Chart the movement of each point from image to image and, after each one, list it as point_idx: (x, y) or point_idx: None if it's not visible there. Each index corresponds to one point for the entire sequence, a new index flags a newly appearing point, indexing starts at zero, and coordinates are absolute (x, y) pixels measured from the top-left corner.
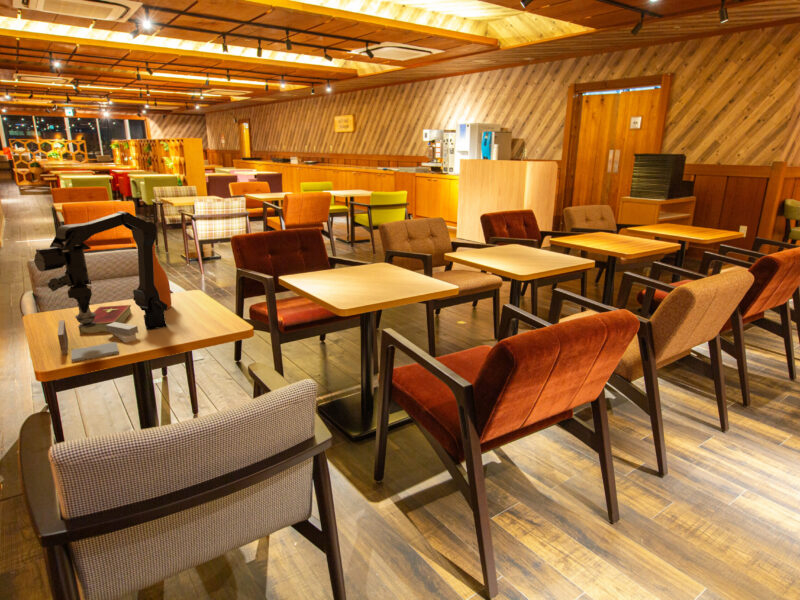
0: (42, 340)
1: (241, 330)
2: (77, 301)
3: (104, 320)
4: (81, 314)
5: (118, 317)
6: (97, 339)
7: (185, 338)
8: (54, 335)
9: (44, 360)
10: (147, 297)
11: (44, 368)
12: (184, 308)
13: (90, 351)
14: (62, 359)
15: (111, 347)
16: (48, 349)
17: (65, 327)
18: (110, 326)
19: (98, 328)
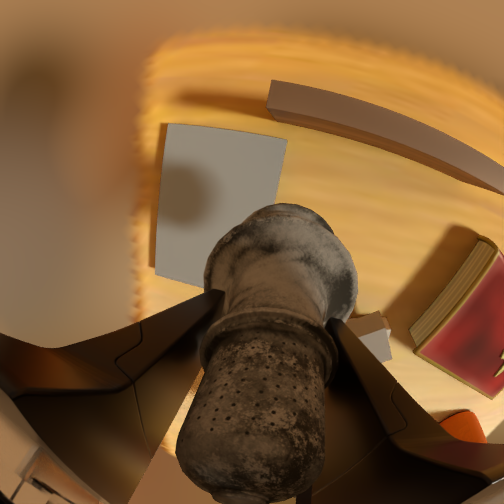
0: (495, 115)
1: (173, 451)
2: (92, 341)
3: (460, 331)
4: (242, 270)
5: (443, 370)
6: (373, 261)
7: (183, 407)
8: None
9: (267, 45)
10: (296, 497)
11: (180, 44)
12: None
13: (207, 197)
14: (229, 97)
15: (200, 269)
16: (394, 85)
17: (485, 187)
18: (358, 335)
19: (450, 295)
